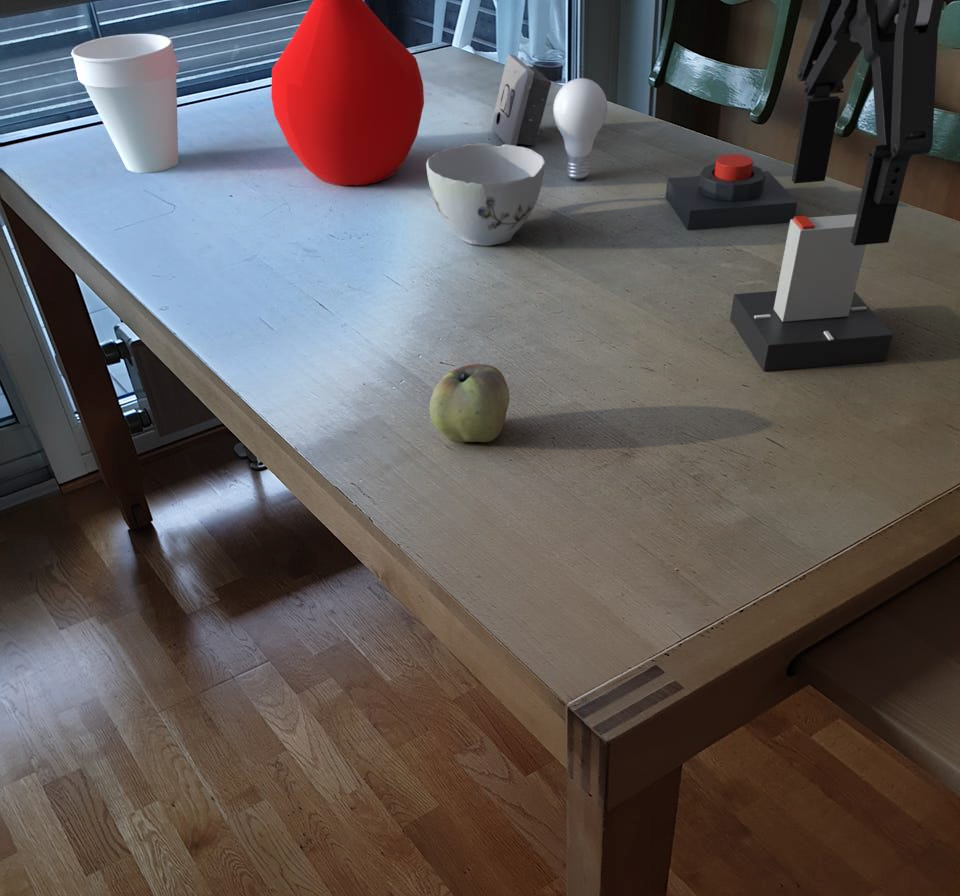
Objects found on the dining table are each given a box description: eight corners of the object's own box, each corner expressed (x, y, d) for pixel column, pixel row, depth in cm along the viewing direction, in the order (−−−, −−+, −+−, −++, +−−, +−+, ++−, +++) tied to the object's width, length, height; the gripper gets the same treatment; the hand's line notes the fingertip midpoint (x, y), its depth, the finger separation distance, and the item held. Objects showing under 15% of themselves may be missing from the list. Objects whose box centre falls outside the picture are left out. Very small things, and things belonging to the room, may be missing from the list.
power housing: (765, 190, 114) (771, 154, 111) (793, 222, 107) (800, 185, 104) (665, 197, 113) (668, 161, 110) (687, 231, 106) (691, 193, 103)
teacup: (556, 252, 103) (557, 174, 98) (441, 265, 102) (436, 187, 96) (524, 201, 114) (524, 128, 108) (420, 213, 112) (414, 139, 107)
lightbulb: (541, 181, 118) (542, 81, 110) (572, 166, 122) (575, 68, 114) (582, 192, 115) (587, 90, 107) (613, 177, 118) (619, 76, 111)
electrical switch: (490, 130, 133) (495, 53, 126) (525, 129, 134) (532, 53, 128) (509, 152, 126) (515, 72, 120) (546, 151, 128) (554, 72, 121)
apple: (537, 446, 77) (538, 379, 73) (440, 463, 76) (435, 396, 71) (517, 408, 81) (516, 343, 77) (424, 423, 80) (418, 358, 76)
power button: (744, 169, 109) (746, 152, 108) (755, 181, 106) (758, 165, 105) (709, 171, 109) (711, 155, 107) (719, 184, 106) (722, 167, 105)
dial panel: (842, 309, 92) (849, 282, 90) (886, 361, 84) (894, 333, 83) (729, 318, 91) (733, 291, 89) (763, 372, 84) (768, 344, 82)
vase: (275, 158, 127) (227, -128, 106) (410, 141, 131) (388, -141, 110) (296, 208, 115) (245, -107, 94) (444, 187, 118) (427, -121, 97)
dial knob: (838, 304, 87) (860, 210, 81) (848, 316, 85) (871, 222, 79) (773, 309, 87) (790, 215, 81) (782, 322, 85) (801, 227, 79)
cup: (177, 181, 122) (148, 60, 113) (88, 179, 124) (51, 59, 115) (212, 149, 131) (188, 33, 121) (128, 147, 133) (98, 32, 123)
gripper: (1056, -91, 56) (949, 268, 71) (882, -140, 74) (826, 155, 89) (931, -81, 56) (850, 277, 71) (786, -132, 73) (746, 162, 88)
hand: (836, 210), depth 80 cm, fingers open, 13 cm apart
